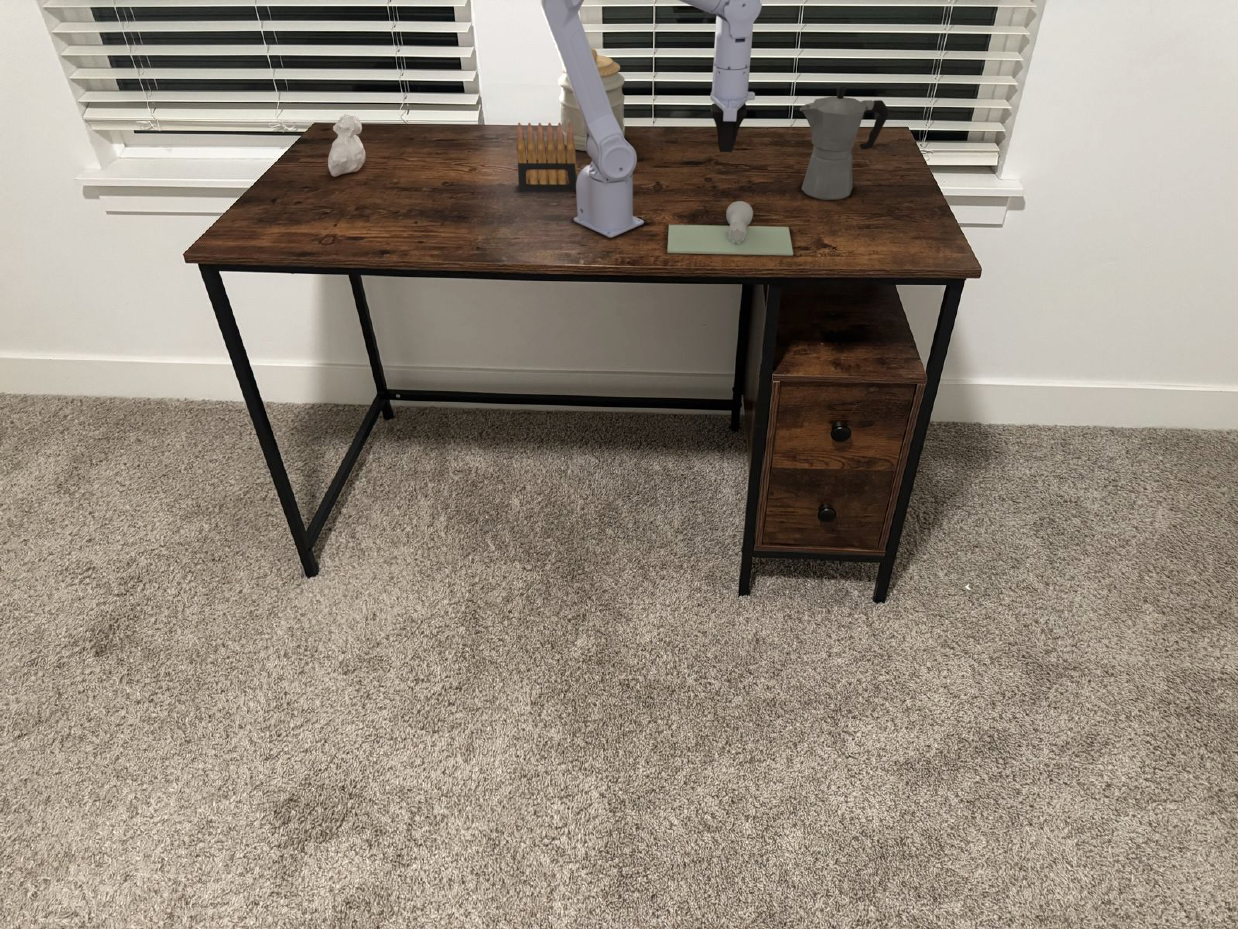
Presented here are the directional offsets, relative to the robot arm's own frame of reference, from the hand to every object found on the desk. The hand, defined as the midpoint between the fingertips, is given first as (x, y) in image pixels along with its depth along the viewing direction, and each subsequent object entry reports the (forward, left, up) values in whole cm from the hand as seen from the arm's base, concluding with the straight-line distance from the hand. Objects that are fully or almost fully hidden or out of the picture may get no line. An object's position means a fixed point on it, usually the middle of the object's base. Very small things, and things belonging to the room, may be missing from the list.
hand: (725, 150), depth 148 cm
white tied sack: (-62, -37, -11) cm, 73 cm away
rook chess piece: (+7, -3, -8) cm, 10 cm away
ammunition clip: (-28, -16, -11) cm, 34 cm away
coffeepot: (+9, +20, -10) cm, 25 cm away
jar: (-40, +6, -10) cm, 42 cm away
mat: (+9, -8, -10) cm, 16 cm away
